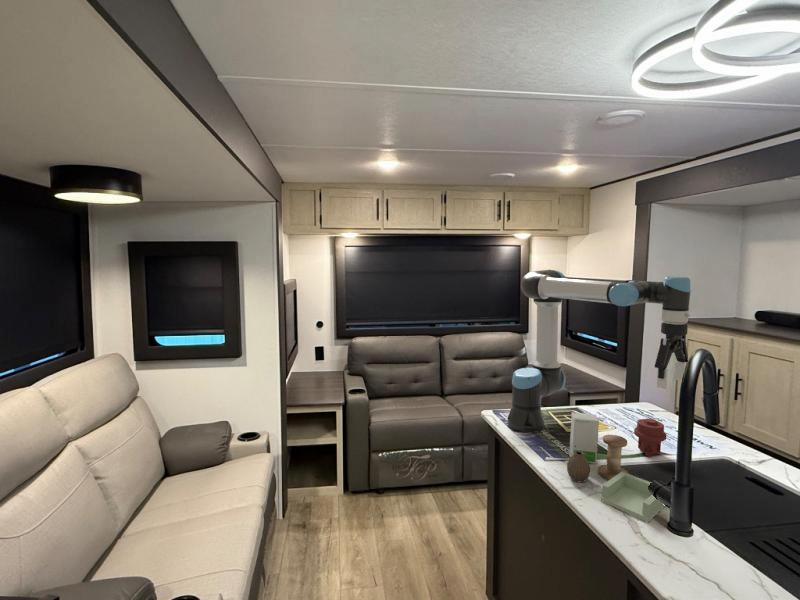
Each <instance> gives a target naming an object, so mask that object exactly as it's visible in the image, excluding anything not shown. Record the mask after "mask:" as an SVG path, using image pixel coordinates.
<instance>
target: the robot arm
mask: <svg viewBox="0 0 800 600" xmlns="http://www.w3.org/2000/svg"><path fill="white" fill-rule="evenodd" d="M520 281H521V282H520V290H521V291H522V293H523V295H524V296H526V297H527V298H529V299H532V300H533V301H532V302H533V303H534V304H535V305H536V350H535V351H536V352H535V355H536V358H535V360H534V361H533V362H532V367H521V368H518V369H517V370H515V371H514V372H513V374H512V379H511V407H510V410H509V413H508V415H507V419H506V420H507V422H506V424H507V426H508V427H509V428H510V429H512V430H514V431H517V432H520V433H521V432H522V433H531V434H532V433H539V432H542V431H544V429H545V422H546V421H545V419H544V415H543V412H542V408H541V407H542V398H545V397H549V396H551V395H554V394H557V393H559V392H560V391H562V389H563V388H564V387H565V385H566V382H567V379H566V378H567V377H566V374H565V372H564V370H563V368H562V365H561V363H559V361H558V335H559V333H558V331H559V306H560V305H561V304H562V303H563V299H566V300H576V301H585V302H595V303H603V304H604V303H605V304H612V305H615V306H619V307H629V306H633V305H638V304H645V303H646V304H647V303H649V304H660V305H661V304H662V307H661V309H662V310H661V319H660V320H661V321H662V322H661V325H660V327H661V328H660V333H661V334H663V335H665V338H660V346H659V348H658V352H657V355H656V360H655V363H654V368H655V369H657V377H656V388H660V389H664V390H665V389H667V387H668V371H669V370H668V365H669V363H670V361H671V357H672V355H673V353H674V356H675V359H676V361H675V362H674V374H673V376H674V377H673V379H674V380H675V381H679V382H682V381H681V380H682V377H683V373H684V374H685V364H686V363H687V362H688V363H689V355H688V353H689V352H688V347H687V341H686V339H687V337H686V336H687V334H688V329H689V324H687V323H688V322H689V318H690V316H691V314H689V312H690V311H689V310H690V298H691V292H692V290H691V279H690V277H688V276H680V275H679V276H674V275H673V276H671V275H670V276H669V275H668V276H665V277H664V278H663V281H649V280H648V281H647V280H639V279H638V280H630V281H628V282H621V281H605V280H603V281H602V280H589V279H577V278H576V279H575V278H567V277H566V276H565V275H564V273H562V272H561V271H559V270H555V269H554V270H553V269H544V270H543V269H542V270H531V271H529V272H527V273H526V274H525V275H523V277H522V279H521V280H520Z"/></svg>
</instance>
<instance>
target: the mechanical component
mask: <svg viewBox="0 0 800 600" xmlns="http://www.w3.org/2000/svg"><path fill="white" fill-rule="evenodd" d="M633 434H634V435H635V436H636V437H637V438H638V441H637V443H638V444H637V448H638V449H639V450H640V452H642V453H644V455H645V456H646V457H648V458H651V457H652V456H657V454H658V455H659V454H660V453H661V448H662V447H661V446H662V442H664V441H666V440H667V432H665V424H663V423H662V422H660V421H659V420H657V419H654V418H642V419H638V420H637V422H636V426H635V427H634V429H633Z"/></svg>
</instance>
